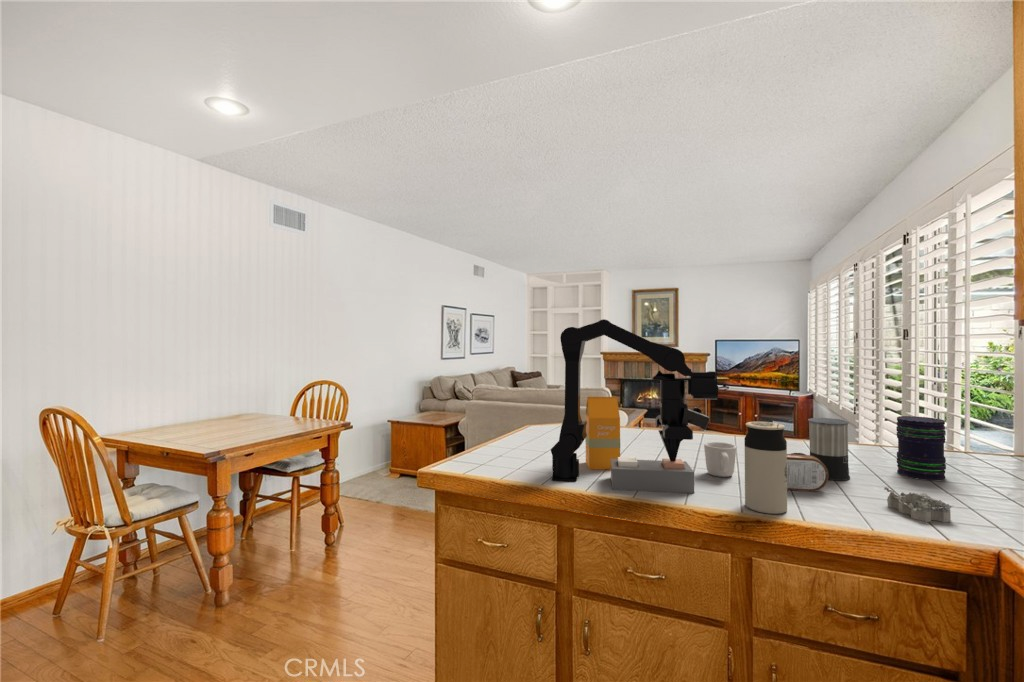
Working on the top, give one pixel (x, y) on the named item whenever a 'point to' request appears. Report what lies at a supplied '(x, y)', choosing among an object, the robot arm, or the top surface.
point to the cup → (720, 458)
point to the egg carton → (920, 506)
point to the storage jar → (921, 447)
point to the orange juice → (602, 432)
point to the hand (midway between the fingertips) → (672, 461)
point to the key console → (652, 477)
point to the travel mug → (766, 468)
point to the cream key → (627, 462)
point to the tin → (805, 473)
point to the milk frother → (830, 445)
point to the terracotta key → (672, 464)
